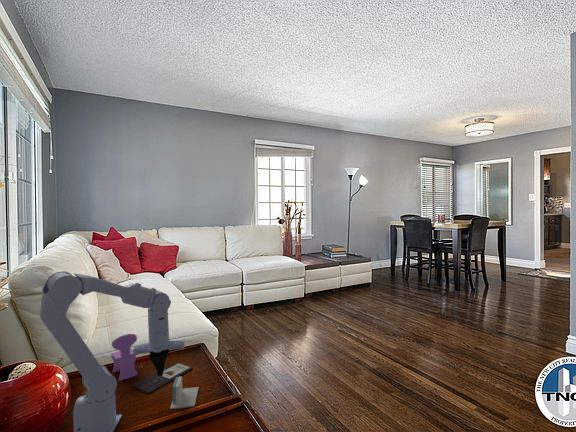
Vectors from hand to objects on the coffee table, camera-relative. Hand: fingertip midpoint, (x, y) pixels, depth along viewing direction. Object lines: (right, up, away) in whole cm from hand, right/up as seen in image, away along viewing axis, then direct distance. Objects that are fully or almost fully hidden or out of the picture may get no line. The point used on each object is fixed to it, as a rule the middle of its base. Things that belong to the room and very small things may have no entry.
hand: (160, 374), depth 99 cm
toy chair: (-20, -9, +18) cm, 28 cm away
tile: (+5, -8, +1) cm, 9 cm away
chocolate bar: (-4, -9, +14) cm, 17 cm away
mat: (+7, -8, +1) cm, 11 cm away
